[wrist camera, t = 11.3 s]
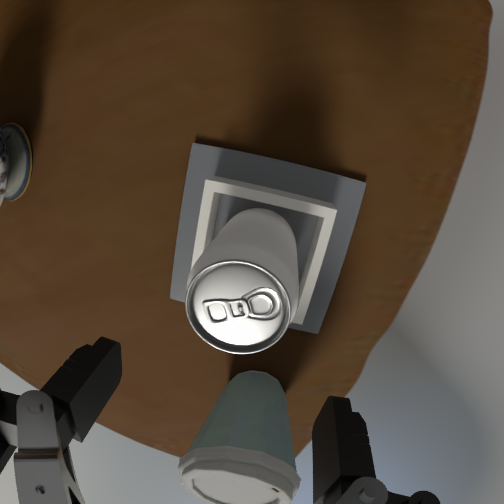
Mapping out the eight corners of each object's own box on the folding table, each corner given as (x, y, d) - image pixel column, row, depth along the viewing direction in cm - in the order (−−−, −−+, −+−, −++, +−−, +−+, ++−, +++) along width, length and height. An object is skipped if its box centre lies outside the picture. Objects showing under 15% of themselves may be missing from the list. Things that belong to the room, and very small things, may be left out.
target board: (194, 142, 26) (181, 142, 22) (364, 182, 25) (375, 187, 22) (171, 295, 31) (158, 312, 27) (317, 330, 30) (320, 352, 27)
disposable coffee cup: (247, 426, 36) (229, 525, 22) (189, 375, 34) (146, 479, 20) (318, 396, 33) (323, 507, 19) (262, 335, 31) (241, 457, 17)
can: (302, 271, 28) (308, 352, 16) (232, 283, 29) (198, 365, 18) (287, 199, 26) (286, 239, 15) (213, 215, 27) (161, 264, 16)
